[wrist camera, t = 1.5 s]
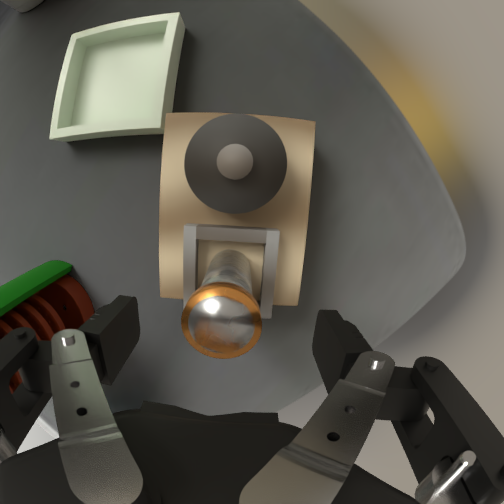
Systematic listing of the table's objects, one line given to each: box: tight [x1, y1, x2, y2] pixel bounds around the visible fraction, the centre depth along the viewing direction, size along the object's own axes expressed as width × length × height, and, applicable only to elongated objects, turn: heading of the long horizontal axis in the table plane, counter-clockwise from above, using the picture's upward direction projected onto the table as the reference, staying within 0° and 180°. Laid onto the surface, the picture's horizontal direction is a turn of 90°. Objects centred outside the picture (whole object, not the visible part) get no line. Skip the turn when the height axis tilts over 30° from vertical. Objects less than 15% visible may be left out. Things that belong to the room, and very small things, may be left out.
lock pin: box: [181, 249, 262, 359], centre depth 15 cm, size 3×3×8 cm
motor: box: [0, 260, 94, 394], centre depth 14 cm, size 10×9×20 cm
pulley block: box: [159, 113, 315, 319], centre depth 19 cm, size 14×10×7 cm
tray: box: [49, 12, 185, 142], centre depth 18 cm, size 11×11×3 cm
